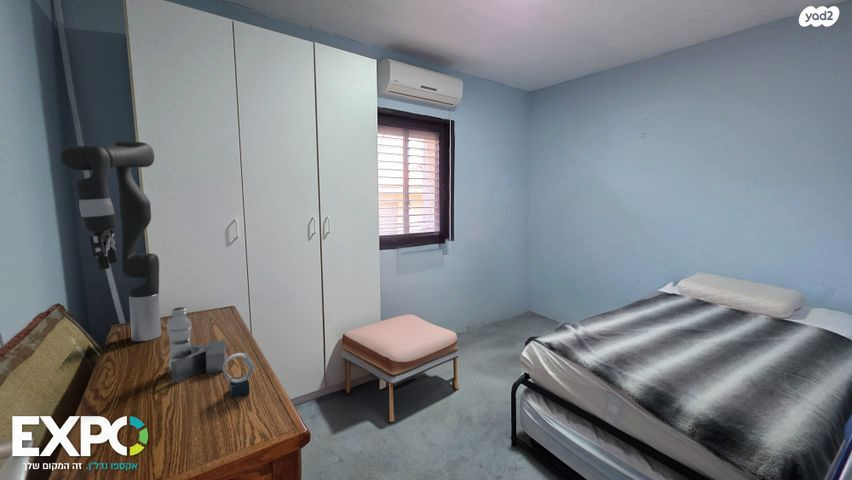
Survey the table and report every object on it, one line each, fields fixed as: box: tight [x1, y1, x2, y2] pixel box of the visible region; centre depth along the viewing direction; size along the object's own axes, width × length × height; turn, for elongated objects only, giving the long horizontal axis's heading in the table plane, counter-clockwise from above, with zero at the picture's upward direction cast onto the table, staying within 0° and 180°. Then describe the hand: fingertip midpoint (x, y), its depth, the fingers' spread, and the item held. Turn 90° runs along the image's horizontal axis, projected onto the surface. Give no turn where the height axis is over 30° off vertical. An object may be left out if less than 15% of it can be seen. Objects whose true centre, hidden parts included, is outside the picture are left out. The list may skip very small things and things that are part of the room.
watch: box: [222, 352, 256, 399], centre depth 102 cm, size 6×8×11 cm
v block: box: [170, 339, 227, 384], centre depth 117 cm, size 18×14×6 cm
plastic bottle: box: [166, 306, 193, 372], centre depth 114 cm, size 6×7×20 cm
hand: (109, 265), depth 112 cm, fingers open, 8 cm apart
